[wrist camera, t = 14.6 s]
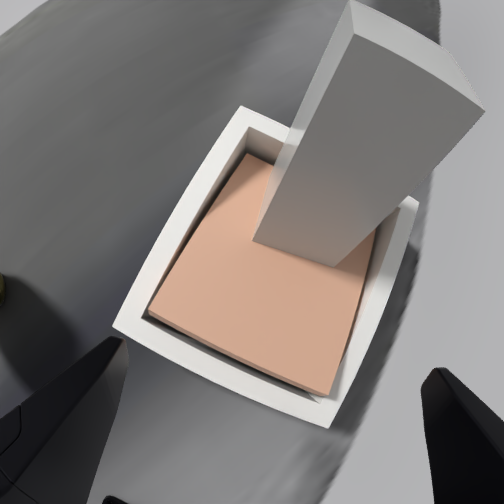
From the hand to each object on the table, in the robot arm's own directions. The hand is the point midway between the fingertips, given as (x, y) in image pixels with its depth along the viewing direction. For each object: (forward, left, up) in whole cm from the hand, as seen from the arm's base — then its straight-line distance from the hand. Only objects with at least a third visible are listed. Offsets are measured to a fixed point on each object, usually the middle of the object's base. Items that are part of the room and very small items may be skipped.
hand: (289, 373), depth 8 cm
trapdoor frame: (+5, +1, -13) cm, 14 cm away
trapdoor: (+3, +1, -14) cm, 14 cm away
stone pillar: (+8, +1, -10) cm, 13 cm away
